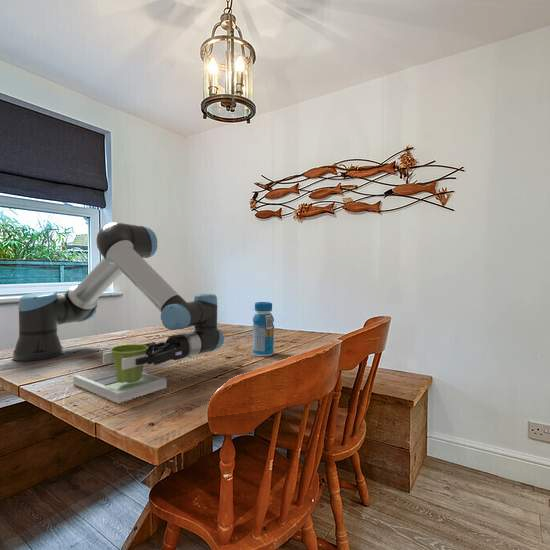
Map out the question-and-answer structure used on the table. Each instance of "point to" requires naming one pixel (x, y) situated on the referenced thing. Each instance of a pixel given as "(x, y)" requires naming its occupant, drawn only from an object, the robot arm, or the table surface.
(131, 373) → the plant pot
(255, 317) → the beverage bottle
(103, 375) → the box
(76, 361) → the table surface
